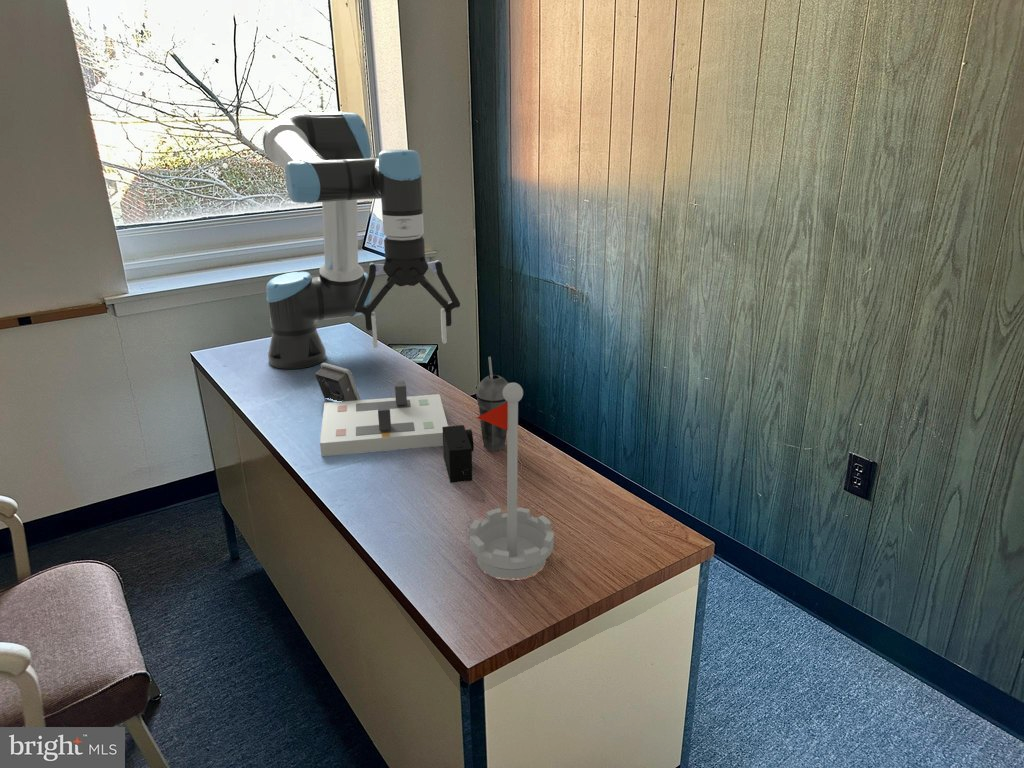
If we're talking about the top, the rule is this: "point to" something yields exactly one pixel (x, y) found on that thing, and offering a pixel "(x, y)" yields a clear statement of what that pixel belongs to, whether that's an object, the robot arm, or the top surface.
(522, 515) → the flag stand
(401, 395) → the block
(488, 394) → the beverage cup
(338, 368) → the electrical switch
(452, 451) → the digital camera
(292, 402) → the top surface
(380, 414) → the block
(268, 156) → the robot arm
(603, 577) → the top surface
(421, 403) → the breaker panel
